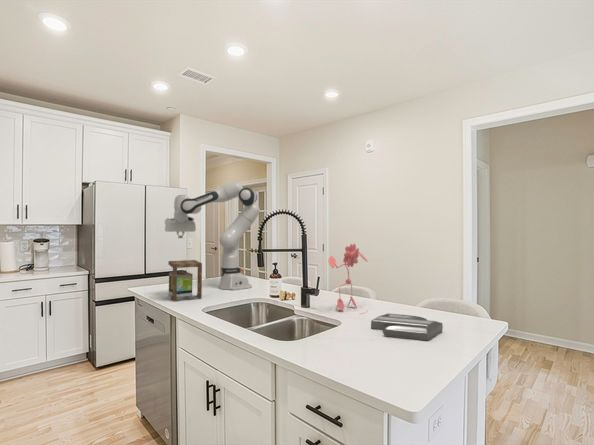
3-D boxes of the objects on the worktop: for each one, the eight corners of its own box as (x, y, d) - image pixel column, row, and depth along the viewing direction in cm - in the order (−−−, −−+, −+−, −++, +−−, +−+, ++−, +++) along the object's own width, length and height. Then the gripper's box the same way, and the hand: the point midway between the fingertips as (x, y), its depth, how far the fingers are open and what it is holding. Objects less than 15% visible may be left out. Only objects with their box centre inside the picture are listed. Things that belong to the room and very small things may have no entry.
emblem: (415, 308, 159) (457, 326, 132) (415, 319, 159) (457, 339, 132) (361, 311, 152) (394, 331, 125) (361, 323, 152) (394, 345, 125)
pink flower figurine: (323, 311, 170) (325, 243, 170) (356, 304, 187) (358, 242, 186) (345, 318, 159) (347, 245, 158) (378, 310, 175) (380, 244, 175)
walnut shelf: (194, 292, 213) (194, 259, 213) (201, 298, 196) (201, 263, 196) (168, 294, 205) (168, 261, 206) (172, 301, 188) (173, 264, 188)
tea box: (192, 298, 197) (193, 273, 197) (175, 300, 191) (175, 275, 191) (184, 294, 209) (184, 270, 209) (168, 296, 203) (168, 271, 203)
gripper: (165, 218, 224) (165, 238, 224) (196, 218, 234) (196, 238, 234) (164, 218, 230) (163, 238, 230) (194, 218, 240) (194, 237, 240)
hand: (180, 238), depth 232 cm, fingers closed
